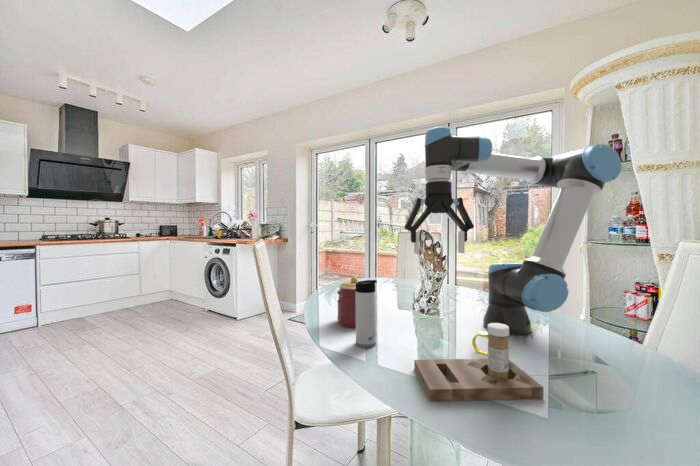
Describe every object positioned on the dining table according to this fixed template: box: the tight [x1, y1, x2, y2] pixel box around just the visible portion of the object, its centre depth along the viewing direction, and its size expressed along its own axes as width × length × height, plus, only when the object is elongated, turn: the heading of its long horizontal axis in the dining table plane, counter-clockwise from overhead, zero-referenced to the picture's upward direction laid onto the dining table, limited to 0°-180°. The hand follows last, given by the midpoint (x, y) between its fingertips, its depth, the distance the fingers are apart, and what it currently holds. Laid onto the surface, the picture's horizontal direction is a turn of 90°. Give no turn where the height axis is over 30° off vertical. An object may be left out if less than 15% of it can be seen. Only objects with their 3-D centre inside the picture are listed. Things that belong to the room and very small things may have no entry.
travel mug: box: [355, 279, 377, 349], centre depth 94 cm, size 6×7×20 cm
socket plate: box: [413, 358, 544, 402], centre depth 71 cm, size 24×14×2 cm, turn 91°
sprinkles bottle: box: [486, 323, 510, 379], centre depth 71 cm, size 5×5×14 cm
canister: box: [336, 276, 361, 329], centre depth 115 cm, size 13×13×18 cm
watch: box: [471, 331, 488, 356], centre depth 87 cm, size 6×3×6 cm, turn 45°
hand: (439, 253), depth 90 cm, fingers open, 13 cm apart
